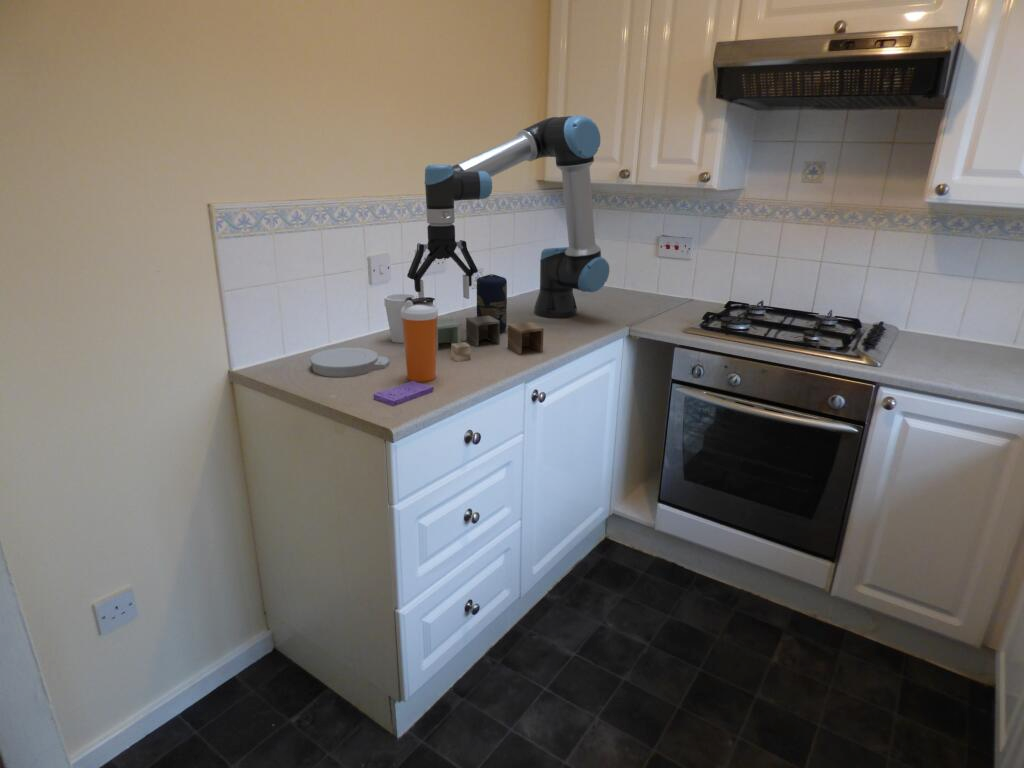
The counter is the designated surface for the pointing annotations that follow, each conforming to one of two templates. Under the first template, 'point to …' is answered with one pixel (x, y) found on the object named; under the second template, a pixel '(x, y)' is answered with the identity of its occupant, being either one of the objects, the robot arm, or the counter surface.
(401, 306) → the foam cup
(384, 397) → the sponges
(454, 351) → the maple cube
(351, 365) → the lid
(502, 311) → the canister
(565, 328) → the counter surface
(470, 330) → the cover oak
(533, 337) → the cover walnut
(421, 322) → the shaker bottle
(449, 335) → the cover green
